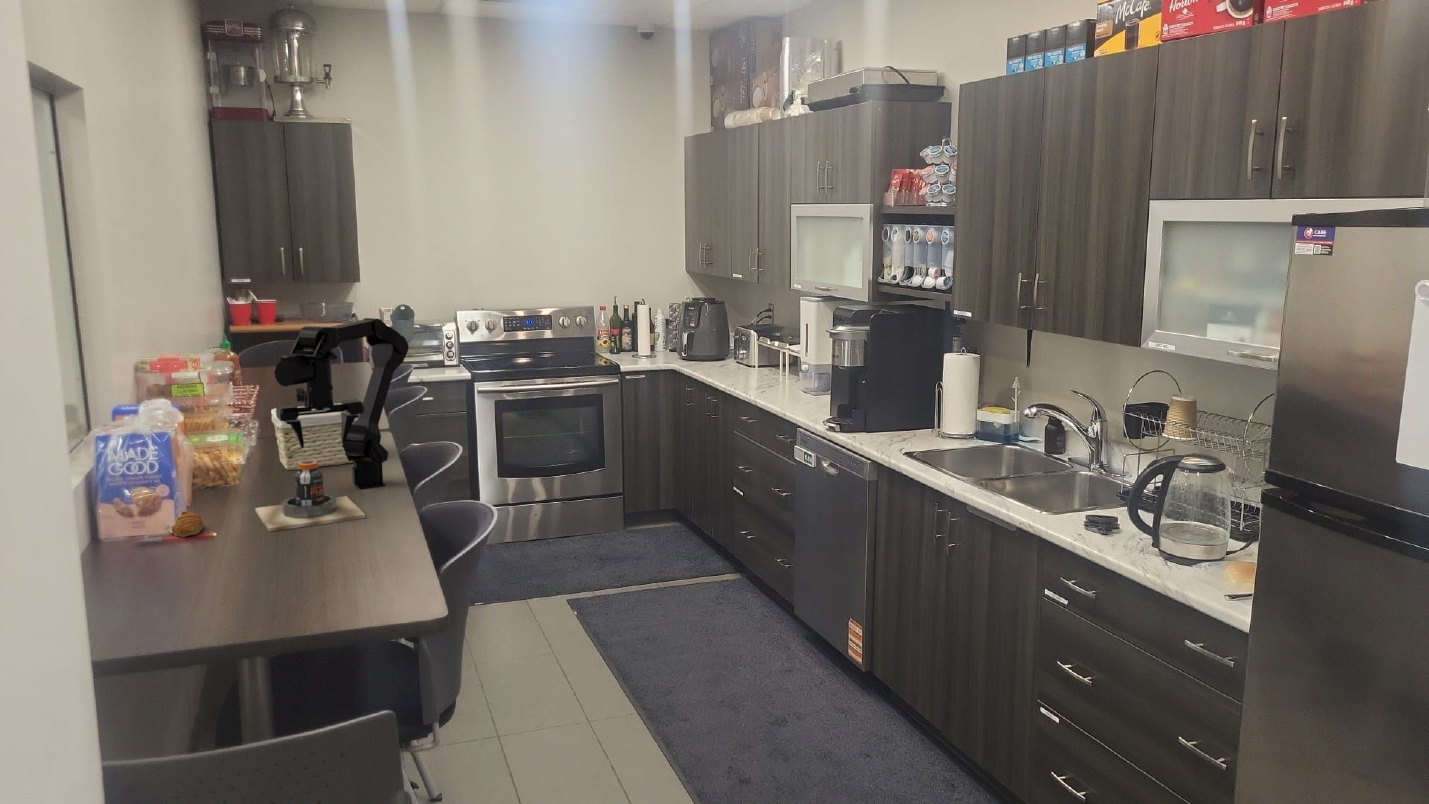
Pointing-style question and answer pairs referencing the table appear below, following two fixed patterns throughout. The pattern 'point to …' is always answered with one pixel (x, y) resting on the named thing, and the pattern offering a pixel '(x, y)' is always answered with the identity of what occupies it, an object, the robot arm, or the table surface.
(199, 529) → the pastry
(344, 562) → the table surface
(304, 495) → the pill bottle
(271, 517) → the ring holder
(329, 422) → the storage basket
